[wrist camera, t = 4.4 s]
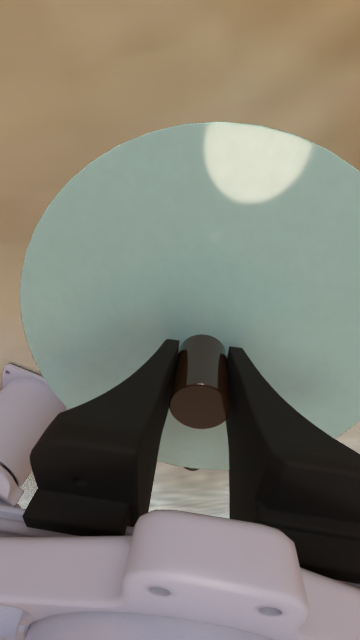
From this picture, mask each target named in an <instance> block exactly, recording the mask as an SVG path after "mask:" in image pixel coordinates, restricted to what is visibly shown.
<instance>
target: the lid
mask: <svg viewBox="0 0 360 640" xmlns="http://www.w3.org/2000/svg"><path fill="white" fill-rule="evenodd" d="M20 306H21V318H22V323H23V327H24V332H25V336H26V340H27V343H28V345H29V348H30V351H31V353H32V356H33V358H34V360H35V362H36V364H37V366H38V368H39V370H40V372H41V374H42V376H43V377H44V379H45V380H46V382H47V383H48V385H49V386H50V388H51V389H52V391H53V392H54V393H55V394H56V395H57V397H58V398H59V399H60V400H61V401H62V403H63V404H64V405H65V406H66V407H67V408H68V409H71V408H74V407H76V406H79V405H81V404H83V403H86V402H88V401H90V400H92V399H94V398H96V397H98V396H100V395H102V394H104V393H106V392H107V391H109V390H111V389H112V388H114V387H115V386H117V385H118V384H120V383H121V382H123V381H124V380H126V379H127V378H128V377H130V376H131V375H132V374H133V373H134V372H136V371H137V370H138V369H139V368H140V367H141V366H142V365H143V364H145V363H146V362H147V361H148V360H149V359H150V357H151V356H152V355H153V354H154V353H155V352H156V351H157V350H158V349H159V347H160V346H161V345H162V344H163V342H164V341H165V340H166V339H173V340H179V352H178V358H177V363H176V368H175V373H174V378H173V383H172V388H171V393H170V399H169V410H168V414H167V417H166V421H165V425H164V428H163V432H162V436H161V441H160V446H159V452H158V457H157V461H159V462H163V463H167V464H171V465H176V466H182V467H188V468H196V469H208V470H229V446H228V436H227V428H226V419H227V418H228V416H229V414H230V411H231V401H230V390H229V378H228V367H227V355H228V350H229V346H231V347H239V348H243V350H244V351H245V353H246V354H247V356H248V357H249V358H250V360H251V361H252V363H253V364H254V365H255V367H256V368H257V370H258V371H259V372H260V373H261V375H262V376H263V377H264V378H265V380H266V381H267V382H268V383H269V384H270V385H271V387H272V388H273V389H274V390H275V391H276V392H277V393H278V394H279V395H280V396H281V397H282V398H283V399H284V400H285V401H286V402H287V403H288V404H289V405H291V406H292V407H293V408H294V409H295V410H296V411H298V412H299V413H300V414H301V415H302V416H304V417H305V418H306V419H307V420H309V421H310V422H311V423H313V424H314V425H315V426H317V427H318V428H319V429H321V430H322V431H324V432H325V433H327V434H328V435H330V436H331V437H332V438H334V439H335V438H337V437H338V436H340V435H342V434H343V433H344V432H346V431H347V430H348V429H350V428H351V427H352V426H354V425H355V424H357V423H358V422H359V421H360V172H359V171H358V170H357V169H356V168H355V167H353V166H352V165H350V164H349V163H347V162H346V161H344V160H343V159H342V158H340V157H339V156H337V155H336V154H334V153H333V152H331V151H330V150H328V149H326V148H324V147H322V146H320V145H318V144H315V143H313V142H311V141H309V140H307V139H304V138H302V137H300V136H298V135H296V134H292V133H288V132H285V131H281V130H277V129H273V128H270V127H266V126H262V125H256V124H246V123H235V122H225V121H218V122H204V123H189V124H182V125H178V126H173V127H169V128H165V129H161V130H156V131H152V132H149V133H146V134H144V135H142V136H139V137H137V138H134V139H132V140H129V141H127V142H124V143H122V144H120V145H118V146H116V147H114V148H113V149H111V150H109V151H108V152H106V153H105V154H103V155H101V156H100V157H98V158H96V159H95V160H93V161H92V162H90V163H89V164H88V165H87V166H86V167H84V168H83V169H82V170H81V171H80V172H79V173H77V174H76V175H75V176H74V177H73V178H72V179H71V180H69V181H68V182H67V183H66V185H65V186H64V187H63V188H62V189H61V191H60V192H59V193H58V194H57V195H56V197H55V198H54V199H53V200H52V201H51V203H50V204H49V205H48V207H47V209H46V210H45V212H44V214H43V216H42V217H41V219H40V221H39V222H38V224H37V226H36V227H35V230H34V232H33V235H32V238H31V240H30V243H29V245H28V248H27V250H26V254H25V259H24V264H23V268H22V273H21V285H20Z"/></svg>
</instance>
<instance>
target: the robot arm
mask: <svg viewBox="0 0 360 640" xmlns="http://www.w3.org/2000/svg"><path fill="white" fill-rule="evenodd" d="M178 352H179V340H173V339H166V340H165V341H164V342H163V344H162V345H161V346H160V347H159V349H158V350H157V351H156V352H155V353H154V354H153V355H152V356H151V357H150V359H149V360H148V361H147V362H146V363H145V364H143V365H142V366H141V367H140V368H139V369H138V370H137V371H136V372H134V373H133V374H132V375H131V376H130V377H128V378H127V379H126V380H124V381H123V382H121V383H120V384H118V385H117V386H115V387H114V388H112V389H111V390H109V391H107V392H106V393H104V394H102V395H100V396H98V397H96V398H94V399H92V400H90V401H88V402H86V403H83V404H81V405H79V406H76V407H74V408H71V409H68V408H67V407H66V406H65V405H64V404H63V403H62V401H61V400H60V399H59V398H58V397H57V395H56V394H55V393H54V392H53V391H52V389H51V388H50V386H49V385H48V383H47V382H46V380H45V379H44V377H42V376H40V375H37V374H35V373H32V372H30V371H27V370H25V369H22V368H20V367H17V366H15V365H12V364H7V365H5V367H4V373H3V381H2V389H1V391H0V640H360V454H358V453H357V452H355V451H354V450H352V449H350V448H349V447H347V446H345V445H344V444H342V443H340V442H339V441H337V440H335V439H334V438H332V437H331V436H330V435H328V434H327V433H325V432H324V431H322V430H321V429H319V428H318V427H317V426H315V425H314V424H313V423H311V422H310V421H309V420H307V419H306V418H305V417H304V416H302V415H301V414H300V413H299V412H298V411H296V410H295V409H294V408H293V407H292V406H291V405H289V404H288V403H287V402H286V401H285V400H284V399H283V398H282V397H281V396H280V395H279V394H278V393H277V392H276V391H275V390H274V389H273V388H272V387H271V385H270V384H269V383H268V382H267V381H266V380H265V378H264V377H263V376H262V375H261V373H260V372H259V371H258V370H257V368H256V367H255V365H254V364H253V363H252V361H251V360H250V358H249V357H248V356H247V354H246V353H245V351H244V350H243V348H239V347H231V346H229V350H228V355H227V367H228V378H229V390H230V401H231V411H230V414H229V416H228V418H227V419H226V428H227V436H228V446H229V488H230V519H227V518H221V517H215V516H208V515H202V514H196V513H190V512H184V511H177V510H154V511H151V512H149V513H148V510H149V504H150V498H151V492H152V486H153V480H154V474H155V469H156V463H157V457H158V452H159V446H160V441H161V436H162V432H163V428H164V425H165V421H166V417H167V414H168V410H169V399H170V393H171V388H172V383H173V378H174V373H175V368H176V363H177V358H178ZM31 471H33V474H34V477H35V480H36V483H37V486H38V489H37V491H36V493H35V494H34V496H33V498H32V500H31V501H30V503H29V505H28V507H27V508H26V509H22V508H21V507H20V505H19V504H17V502H18V501H19V499H20V497H21V496H22V494H23V493H24V491H23V490H22V489H20V487H21V486H22V485H23V483H24V482H25V480H26V479H27V477H28V476H29V474H30V472H31Z"/></svg>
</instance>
